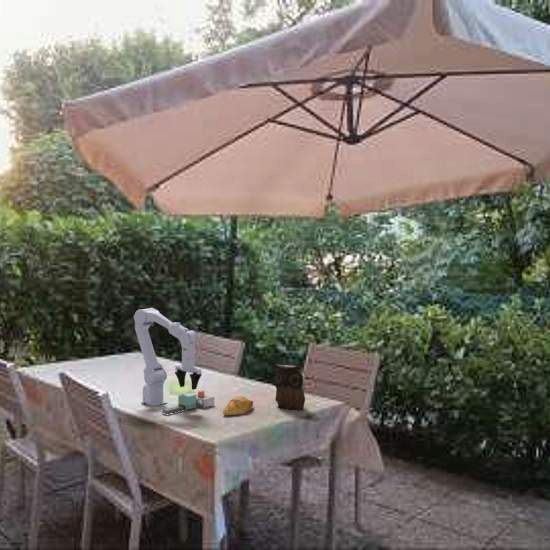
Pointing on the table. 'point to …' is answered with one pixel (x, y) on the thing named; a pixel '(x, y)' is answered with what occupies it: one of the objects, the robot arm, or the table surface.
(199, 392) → the push button
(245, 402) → the croissant
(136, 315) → the robot arm
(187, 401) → the block
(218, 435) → the table surface
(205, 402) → the block with square hole
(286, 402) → the owl
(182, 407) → the rail
